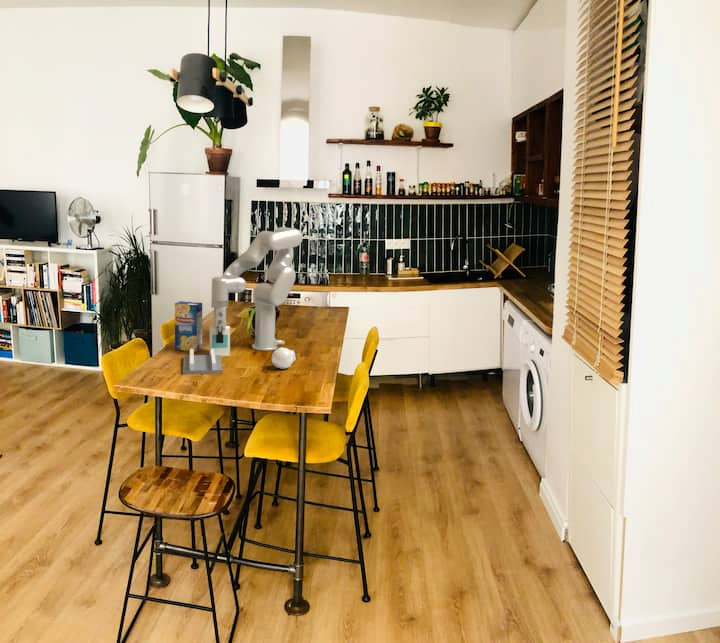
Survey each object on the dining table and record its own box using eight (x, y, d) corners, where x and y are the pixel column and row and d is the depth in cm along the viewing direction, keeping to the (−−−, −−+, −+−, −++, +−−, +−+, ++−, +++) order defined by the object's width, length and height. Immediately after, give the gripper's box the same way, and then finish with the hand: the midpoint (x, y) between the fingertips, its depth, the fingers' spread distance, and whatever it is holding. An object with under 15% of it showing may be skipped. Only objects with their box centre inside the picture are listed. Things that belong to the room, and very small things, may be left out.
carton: (209, 353, 331) (209, 326, 328) (229, 353, 333) (229, 325, 330) (209, 356, 326) (210, 328, 323) (229, 355, 328) (230, 328, 325)
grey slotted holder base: (220, 358, 323) (220, 348, 322) (222, 373, 298) (222, 363, 297) (183, 358, 319) (183, 348, 318) (183, 374, 294) (183, 363, 293)
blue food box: (196, 351, 333) (196, 305, 329) (174, 349, 335) (174, 303, 331) (202, 348, 340) (202, 302, 336) (180, 346, 342) (180, 301, 338)
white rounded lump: (274, 374, 305) (287, 370, 320) (292, 363, 303) (304, 359, 317) (264, 355, 306) (277, 352, 321) (282, 344, 304) (294, 341, 318)
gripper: (229, 307, 317) (228, 344, 321) (227, 301, 334) (226, 336, 337) (211, 307, 316) (211, 344, 319) (211, 300, 332) (210, 336, 335)
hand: (219, 340), depth 328 cm, fingers open, 9 cm apart
